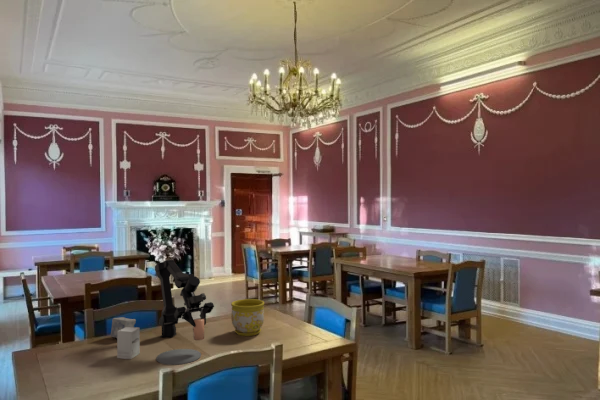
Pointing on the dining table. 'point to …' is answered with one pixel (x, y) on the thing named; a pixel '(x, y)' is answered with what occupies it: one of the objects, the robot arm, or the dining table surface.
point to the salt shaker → (198, 329)
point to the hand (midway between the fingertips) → (200, 325)
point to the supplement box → (128, 342)
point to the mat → (178, 356)
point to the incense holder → (121, 324)
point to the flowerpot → (247, 316)
